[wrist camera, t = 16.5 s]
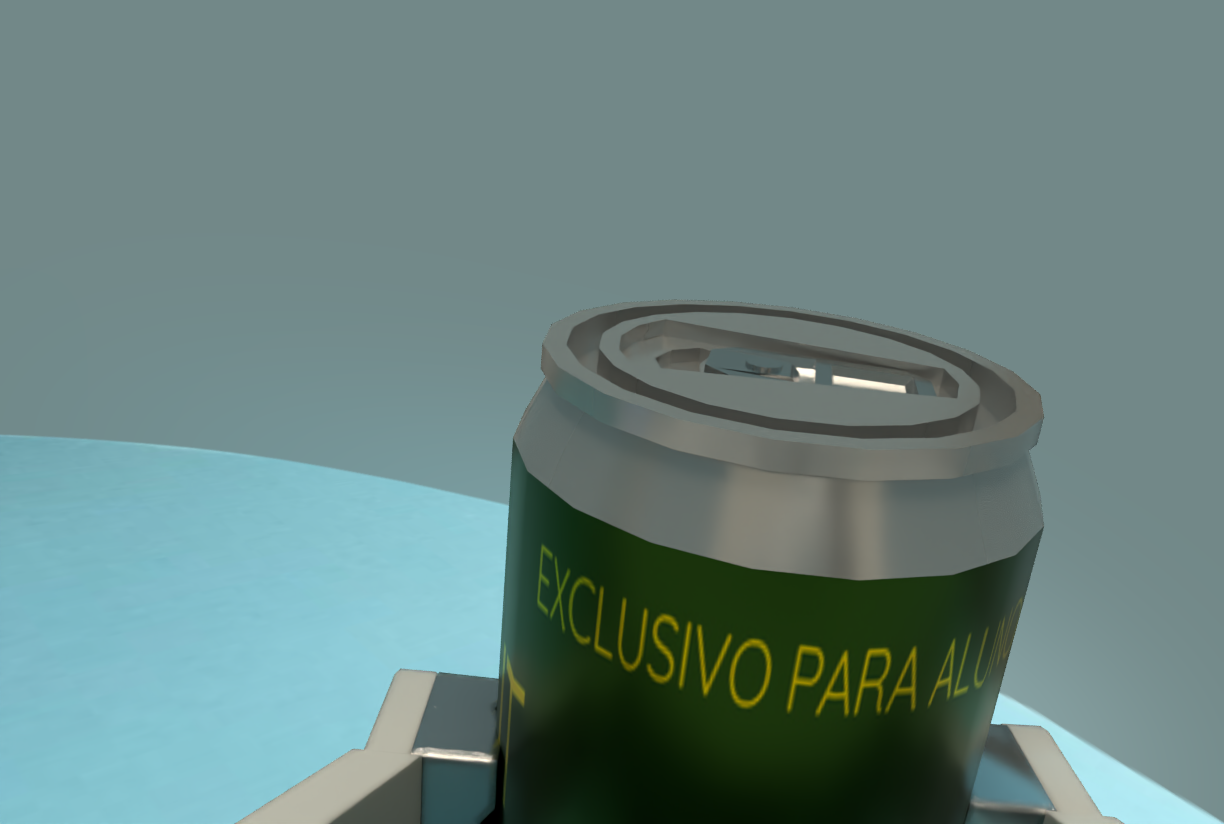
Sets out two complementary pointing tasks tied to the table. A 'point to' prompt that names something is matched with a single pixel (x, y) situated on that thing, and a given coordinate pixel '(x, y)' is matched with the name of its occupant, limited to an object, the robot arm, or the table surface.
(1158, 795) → the table surface
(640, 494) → the green drink can
